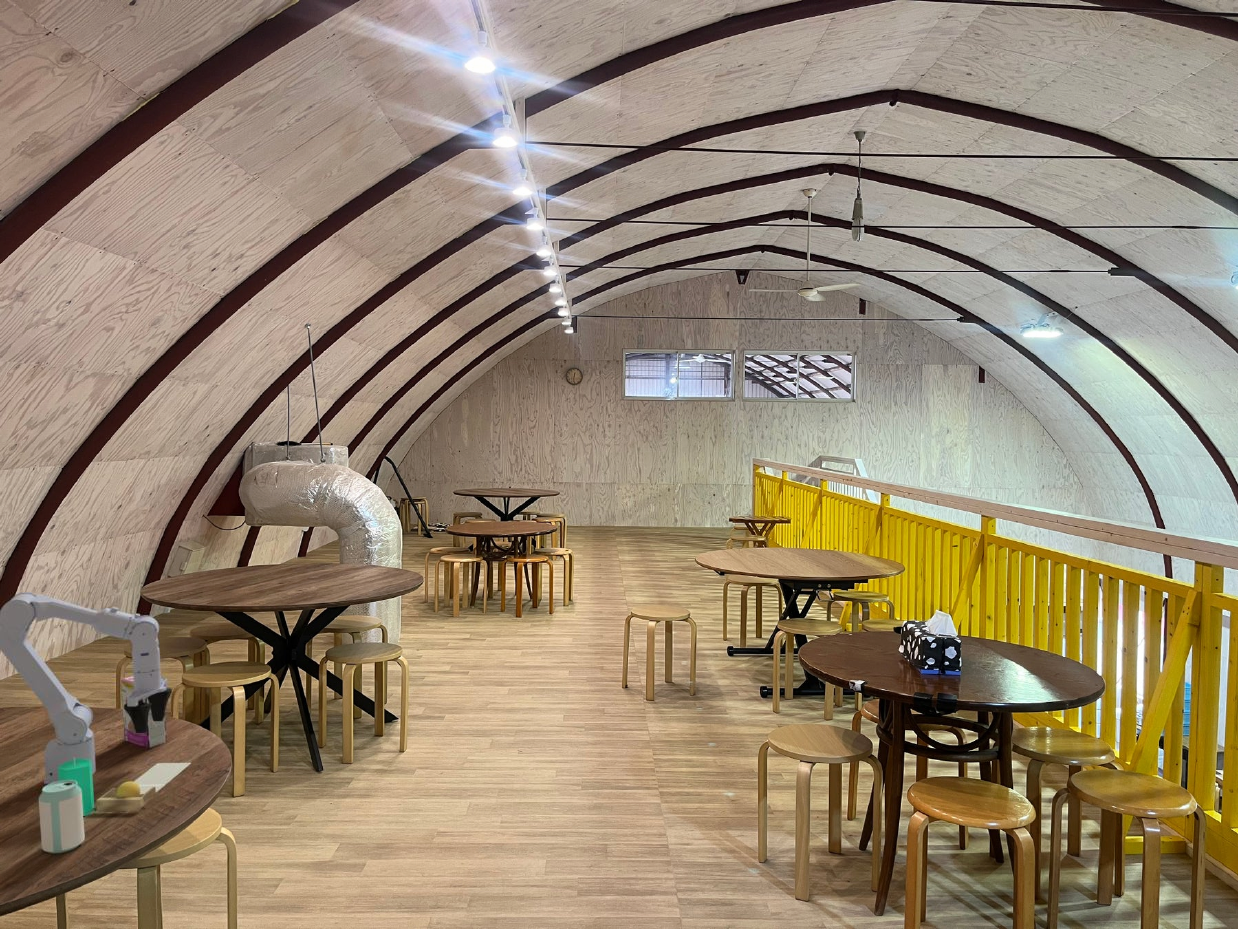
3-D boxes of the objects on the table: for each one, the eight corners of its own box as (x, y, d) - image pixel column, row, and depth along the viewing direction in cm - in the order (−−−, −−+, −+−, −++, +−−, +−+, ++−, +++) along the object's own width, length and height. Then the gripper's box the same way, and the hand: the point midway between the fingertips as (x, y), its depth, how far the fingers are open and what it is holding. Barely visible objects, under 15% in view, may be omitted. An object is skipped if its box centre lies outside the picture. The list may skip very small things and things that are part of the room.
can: (50, 840, 181) (46, 780, 180) (89, 835, 182) (86, 776, 181) (36, 857, 174) (32, 795, 173) (77, 852, 175) (73, 791, 175)
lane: (103, 809, 194) (102, 805, 194) (157, 766, 217) (157, 763, 216) (141, 808, 194) (140, 805, 194) (191, 766, 216) (191, 762, 216)
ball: (113, 808, 195) (110, 789, 194) (124, 796, 199) (122, 777, 198) (134, 808, 195) (131, 788, 194) (145, 796, 199) (142, 777, 198)
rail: (97, 812, 193) (96, 800, 193) (113, 799, 199) (112, 787, 199) (140, 811, 193) (140, 799, 193) (156, 798, 199) (155, 787, 199)
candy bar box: (123, 743, 232) (119, 679, 231) (142, 737, 236) (138, 673, 235) (148, 751, 226) (144, 685, 225) (168, 745, 230) (164, 680, 229)
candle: (70, 822, 189) (67, 764, 188) (55, 815, 192) (51, 759, 191) (100, 810, 194) (96, 754, 193) (84, 804, 197) (81, 749, 196)
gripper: (147, 678, 208) (151, 737, 209) (179, 660, 223) (182, 715, 224) (116, 679, 208) (120, 738, 209) (149, 660, 223) (153, 716, 224)
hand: (150, 726), depth 216 cm, fingers open, 7 cm apart
